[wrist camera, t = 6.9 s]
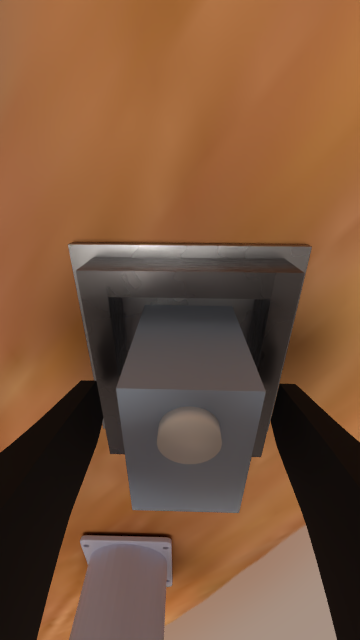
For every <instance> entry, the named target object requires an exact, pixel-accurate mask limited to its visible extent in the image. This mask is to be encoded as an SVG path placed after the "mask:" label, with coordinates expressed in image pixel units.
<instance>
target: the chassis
mask: <svg viewBox="0 0 360 640" xmlns="http://www.w3.org/2000/svg"><path fill="white" fill-rule="evenodd" d="M68 247H69V252H70V258H71V263H72V268H73V273H74V278H75V283H76V289H77V294H78V299H79V304H80V309H81V315H82V320H83V325H84V330H85V335H86V340H87V346H88V351H89V356H90V361H91V366H92V371H93V377H94V381H97V386H98V391H99V396H100V402H101V407H102V412H103V422H102V423H103V428H105V429H106V434H107V439H108V445H109V450H110V454H125V451H124V444H123V436H122V429H121V421H120V414H119V407H118V399H117V392H116V387H117V384H118V381H119V378H120V375H121V372H122V369H123V367H124V364H125V361H126V358H127V355H128V352H129V349H130V346H131V344H132V341H133V338H134V335H135V332H136V329H137V326H138V323H139V320H140V318H141V315H142V312H143V309H144V306H145V305H192V306H232V307H233V310H234V312H235V315H236V317H237V320H238V322H239V325H240V327H241V330H242V332H243V335H244V337H245V340H246V343H247V345H248V348H249V350H250V353H251V355H252V358H253V360H254V363H255V365H256V368H257V370H258V373H259V375H260V378H261V381H262V383H263V386H264V388H265V391H266V393H265V398H264V402H263V407H262V411H261V416H260V420H259V425H258V429H257V434H256V438H255V443H254V447H253V452H252V456H251V457H261V455H262V451H263V447H264V442H265V438H266V434H267V432H268V428H269V424H270V420H271V415H272V411H273V407H274V403H275V399H276V395H277V390H278V386H279V382H280V378H281V374H282V370H283V365H284V361H285V357H286V353H287V349H288V344H289V340H290V336H291V332H292V328H293V324H294V319H295V315H296V311H297V307H298V303H299V299H300V294H301V290H302V286H303V282H304V278H305V273H306V269H307V265H308V261H309V257H310V253H311V248H312V246H309V245H307V244H222V243H110V242H72V243H70V244H68Z"/></svg>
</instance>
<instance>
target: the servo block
mask: <svg viewBox="0 0 360 640" xmlns="http://www.w3.org/2000/svg"><path fill="white" fill-rule="evenodd" d="M116 392H117V399H118V407H119V414H120V421H121V429H122V436H123V444H124V451H125V458H126V466H127V473H128V480H129V488H130V495H131V502H132V510H154V511H190V512H225V513H239V511H240V506H241V501H242V497H243V492H244V488H245V483H246V479H247V474H248V470H249V465H250V461H251V456H252V452H253V447H254V443H255V438H256V434H257V429H258V425H259V420H260V416H261V411H262V407H263V402H264V398H265V393H266V391H265V388H264V386H263V383H262V381H261V378H260V375H259V373H258V370H257V368H256V365H255V363H254V360H253V358H252V355H251V353H250V350H249V348H248V345H247V343H246V340H245V337H244V335H243V332H242V330H241V327H240V325H239V322H238V320H237V317H236V315H235V312H234V310H233V307H232V306H192V305H145V306H144V309H143V312H142V315H141V318H140V320H139V323H138V326H137V329H136V332H135V335H134V338H133V341H132V344H131V346H130V349H129V352H128V355H127V358H126V361H125V364H124V367H123V369H122V372H121V375H120V378H119V381H118V384H117V387H116Z"/></svg>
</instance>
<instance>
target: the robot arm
mask: <svg viewBox="0 0 360 640" xmlns="http://www.w3.org/2000/svg"><path fill="white" fill-rule="evenodd" d="M102 422H103V412H102V407H101V402H100V396H99V391H98V386H97V381H82V380H81V381H80V382H79V383H78V384H77V385H76V386H75V387H74V388H73V389H72V390H71V391H69V392H68V393H67V394H66V395H65V396H64V397H63V398H62V399H61V400H60V401H59V402H58V403H57V404H56V405H55V406H54V407H53V408H52V409H50V410H49V411H48V412H47V413H46V414H45V415H44V416H43V417H42V418H41V419H40V420H38V421H37V422H36V423H35V424H34V425H33V426H32V427H31V428H29V429H28V430H27V431H26V432H25V433H24V434H22V435H21V436H20V437H19V438H18V439H17V440H15V441H14V442H13V443H12V444H11V445H9V446H8V447H7V448H6V449H4V450H3V451H2V452H1V453H0V640H37V636H38V632H39V628H40V624H41V620H42V616H43V612H44V608H45V604H46V600H47V596H48V592H49V588H50V585H51V581H52V577H53V574H54V570H55V566H56V562H57V559H58V555H59V552H60V548H61V545H62V541H63V538H64V534H65V531H66V527H67V524H68V520H69V517H70V514H71V511H72V509H73V506H74V503H75V500H76V498H77V495H78V492H79V490H80V487H81V485H82V482H83V479H84V477H85V474H86V471H87V469H88V466H89V464H90V461H91V458H92V456H93V453H94V450H95V448H96V445H97V442H98V438H99V434H100V430H101V426H102ZM271 424H272V429H273V433H274V437H275V441H276V444H277V448H278V450H279V453H280V456H281V459H282V461H283V464H284V467H285V469H286V472H287V474H288V477H289V480H290V482H291V485H292V487H293V490H294V493H295V495H296V498H297V501H298V503H299V506H300V508H301V511H302V514H303V517H304V520H305V523H306V526H307V529H308V532H309V536H310V539H311V543H312V546H313V550H314V553H315V556H316V560H317V563H318V567H319V571H320V575H321V579H322V582H323V586H324V590H325V593H326V597H327V601H328V605H329V609H330V613H331V617H332V621H333V625H334V629H335V633H336V637H337V640H360V442H359V441H357V440H356V439H355V438H354V437H353V436H352V435H350V434H349V433H348V432H347V431H346V430H345V429H344V428H342V427H341V426H340V425H339V424H338V423H337V422H336V421H335V420H333V419H332V418H331V417H330V416H329V415H328V414H327V413H326V412H325V411H324V410H323V409H322V408H320V407H319V406H318V405H317V404H316V403H315V402H314V401H313V400H312V399H311V398H310V397H309V396H308V395H307V394H306V393H305V392H303V391H302V390H301V389H300V388H299V387H298V386H297V385H296V384H279V388H278V392H277V397H276V401H275V405H274V409H273V413H272V417H271ZM80 544H81V546H82V549H83V552H84V555H85V557H86V560H87V563H88V568H87V572H86V576H85V580H84V584H83V587H82V591H81V595H80V599H79V603H78V607H77V611H76V615H75V619H74V622H73V626H72V630H71V634H70V638H69V640H164V622H165V601H166V587H170V586H172V542H171V539H170V538H168V537H139V536H100V535H84V536H82V537H81V540H80Z"/></svg>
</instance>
